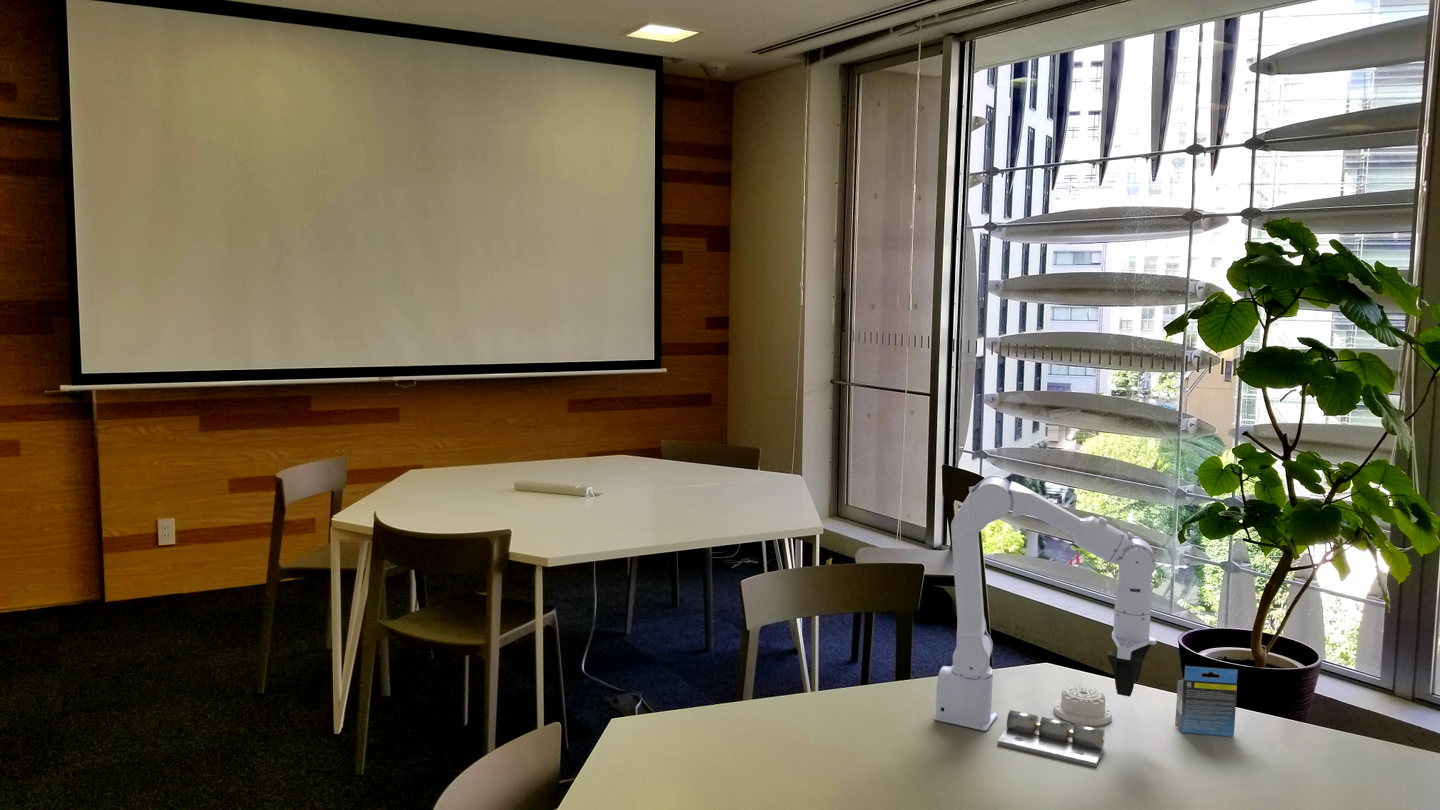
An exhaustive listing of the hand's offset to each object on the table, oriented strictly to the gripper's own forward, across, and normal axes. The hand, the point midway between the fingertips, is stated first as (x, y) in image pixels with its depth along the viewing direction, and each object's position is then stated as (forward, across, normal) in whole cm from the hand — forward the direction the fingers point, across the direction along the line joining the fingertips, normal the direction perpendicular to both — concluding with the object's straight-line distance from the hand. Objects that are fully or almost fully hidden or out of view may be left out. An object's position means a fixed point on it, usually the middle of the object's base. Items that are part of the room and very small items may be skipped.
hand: (1127, 687), depth 176 cm
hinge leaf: (+10, -9, +10) cm, 17 cm away
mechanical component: (+10, +8, +8) cm, 15 cm away
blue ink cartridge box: (+10, +12, -11) cm, 19 cm away
